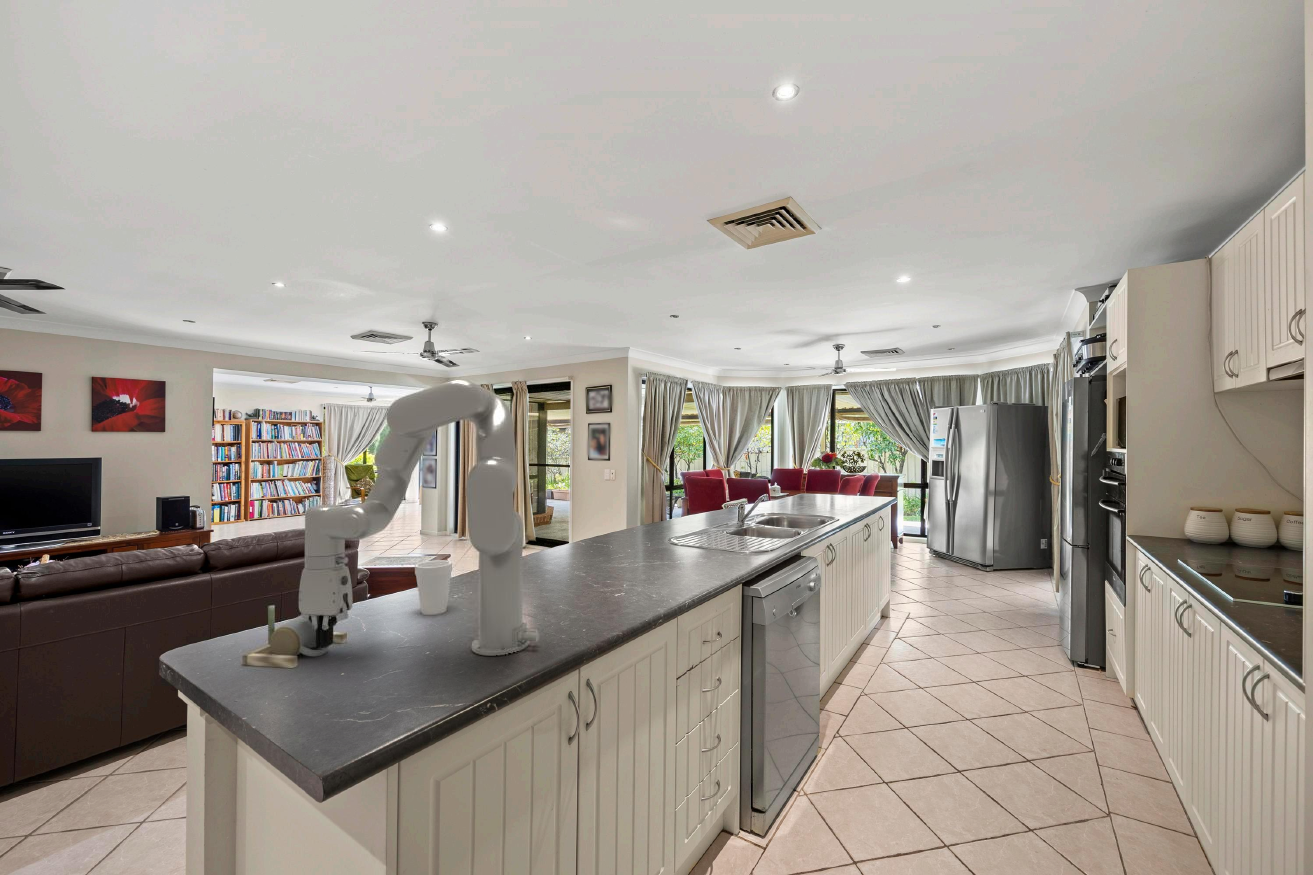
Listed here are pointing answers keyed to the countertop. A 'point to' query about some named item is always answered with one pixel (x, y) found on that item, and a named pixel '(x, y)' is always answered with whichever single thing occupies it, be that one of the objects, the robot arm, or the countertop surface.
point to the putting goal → (266, 659)
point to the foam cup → (433, 585)
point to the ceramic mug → (295, 639)
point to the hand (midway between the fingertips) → (324, 645)
